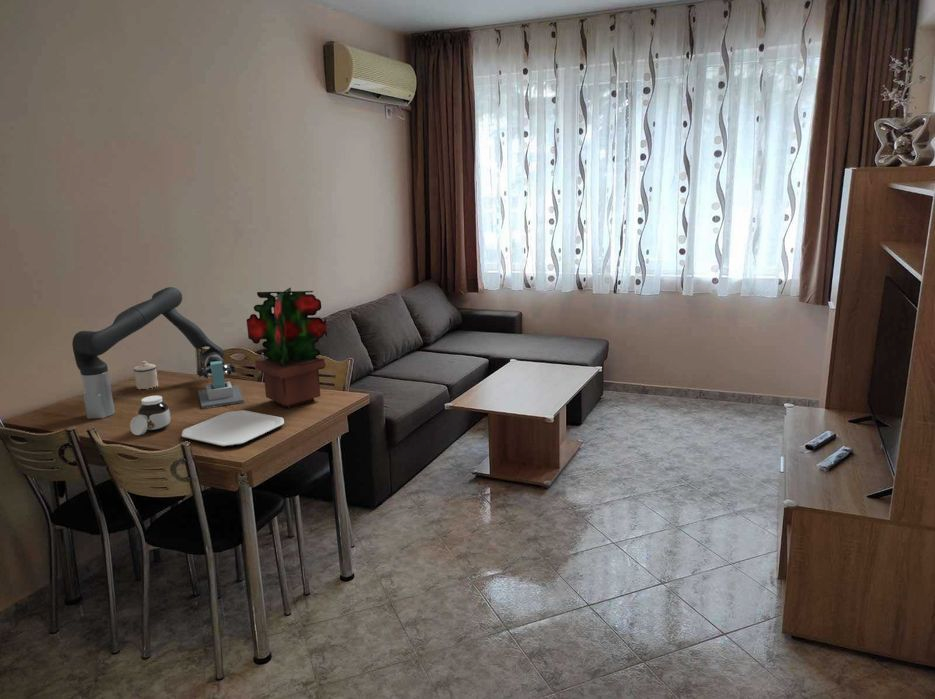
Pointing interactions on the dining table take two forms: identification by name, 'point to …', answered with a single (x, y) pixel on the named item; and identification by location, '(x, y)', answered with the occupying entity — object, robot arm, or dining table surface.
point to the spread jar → (151, 416)
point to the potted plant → (289, 345)
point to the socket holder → (220, 395)
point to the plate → (233, 428)
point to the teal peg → (217, 374)
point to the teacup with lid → (145, 375)
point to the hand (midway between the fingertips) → (218, 374)
